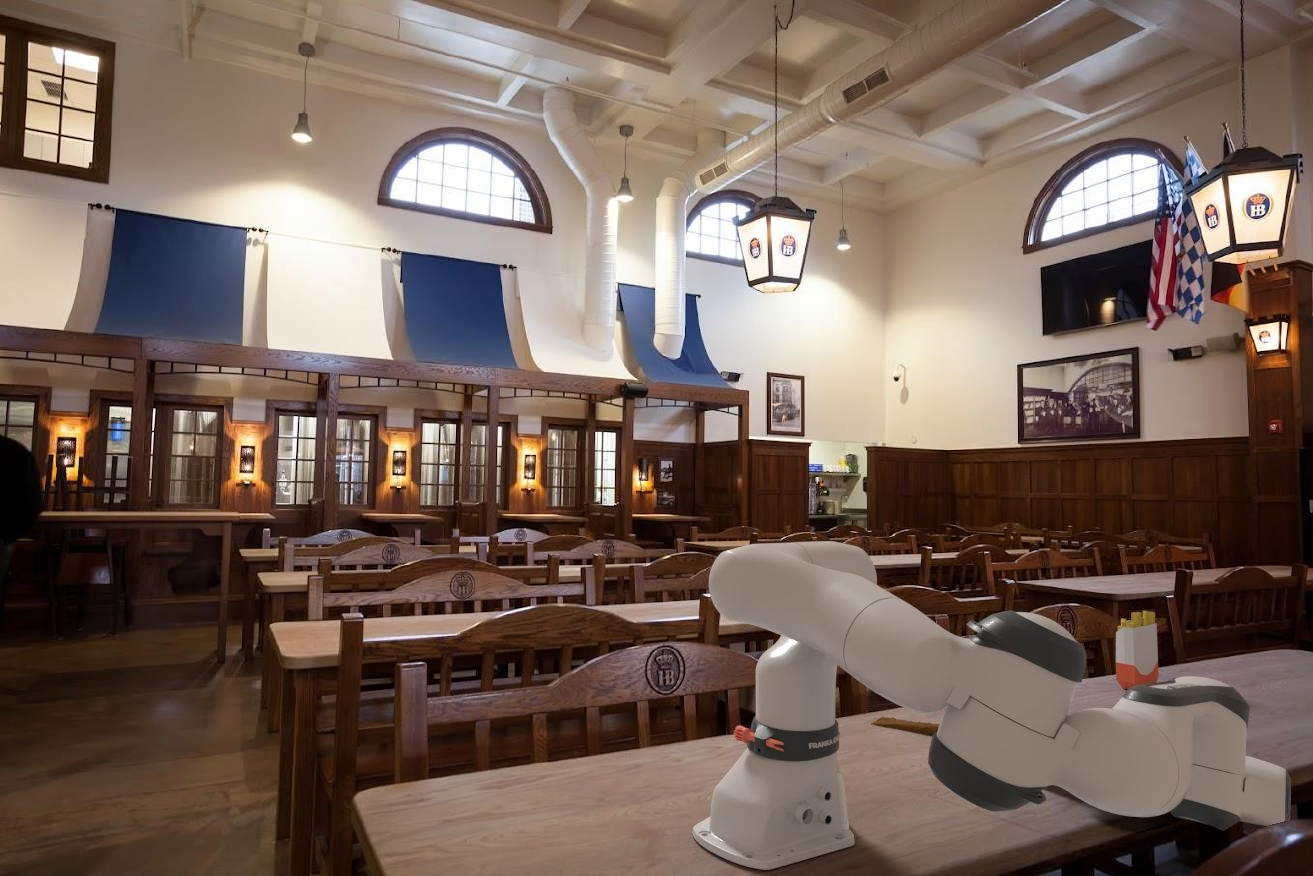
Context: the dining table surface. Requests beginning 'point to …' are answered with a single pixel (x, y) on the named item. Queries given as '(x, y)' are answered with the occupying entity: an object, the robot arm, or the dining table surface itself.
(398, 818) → the dining table surface
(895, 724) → the primitive tool
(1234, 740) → the robot arm
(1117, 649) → the french fries container
